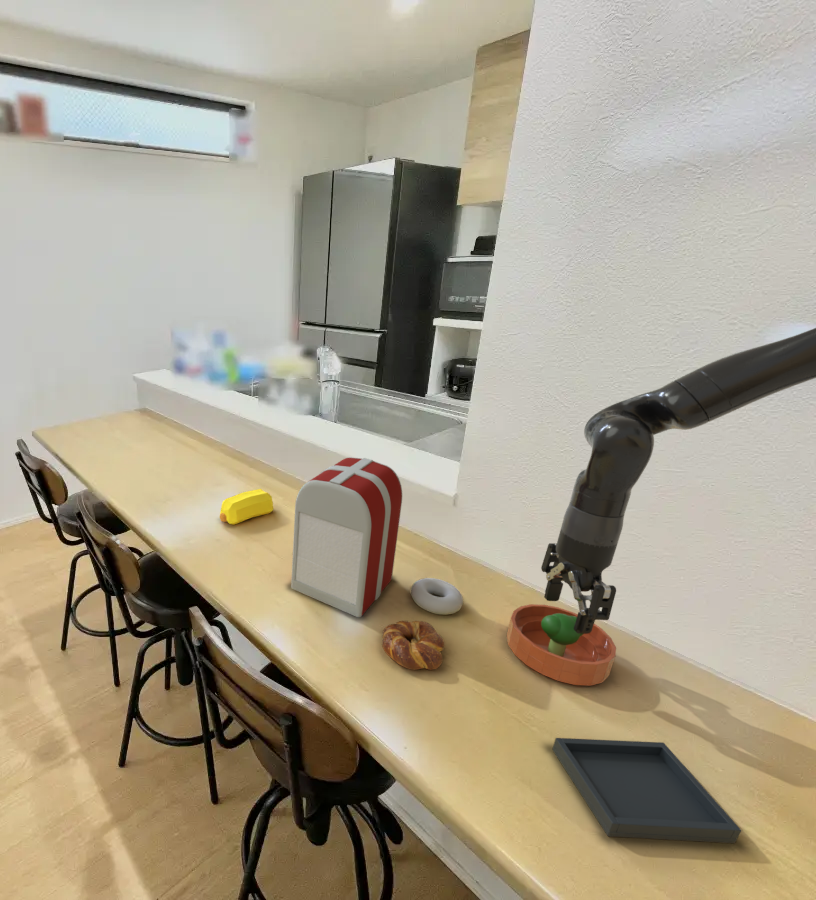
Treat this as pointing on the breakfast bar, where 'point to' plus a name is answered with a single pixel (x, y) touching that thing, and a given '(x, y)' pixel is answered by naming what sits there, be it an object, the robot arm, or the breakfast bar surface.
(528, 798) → the breakfast bar surface
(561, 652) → the broccoli
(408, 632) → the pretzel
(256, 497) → the yellow faceted capsule
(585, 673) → the bowl
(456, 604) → the donut
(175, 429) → the breakfast bar surface
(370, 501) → the red grey arched block
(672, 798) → the tray
